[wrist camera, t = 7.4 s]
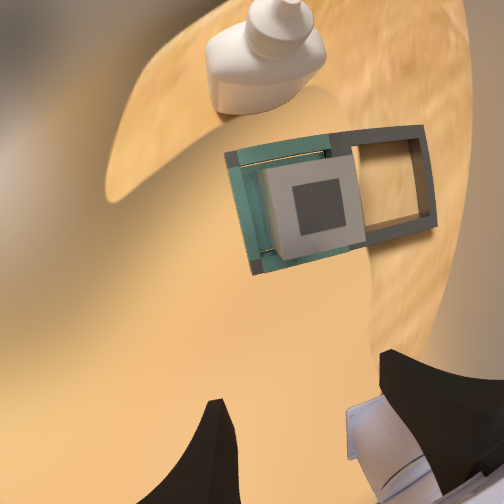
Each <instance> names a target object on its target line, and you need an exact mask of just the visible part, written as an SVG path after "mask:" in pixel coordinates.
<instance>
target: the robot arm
mask: <svg viewBox="0 0 504 504" xmlns="http://www.w3.org/2000/svg"><path fill="white" fill-rule="evenodd" d="M379 386H380V388H381V390H382V392H383V395H381V396H378V397H376V398H374V399H371V400H368V401H366V402H363V403H361V404H358V405H355V406H352V407H350V408H348V409H347V410H346V427H347V457H348V460H353V459H355V458H357V459H358V461H359V463H360V465H361V468H362V469H363V472H364V474H365V475H366V478H367V480H368V482H369V483H370V485H371V487H372V490H373V491H374V493H375V495H376V497H377V499H378V501H379V502H378V503H376V504H504V380H486V379H477V378H470V377H464V376H460V375H456V374H452V373H448V372H445V371H442V370H439V369H436V368H434V367H431V366H428V365H426V364H424V363H421V362H419V361H417V360H414V359H412V358H410V357H408V356H406V355H403V354H401V353H399V352H397V351H395V350H392V349H390V350H387V351H385V352H382V353H380V380H379ZM351 414H352V415H351ZM238 478H239V476H238V447H237V441H236V435H235V429H234V426H233V424H232V421H231V419H230V416H229V414H228V411H227V408H226V406H225V403H224V401H223V399H217V400H211V401H209V402H208V403H207V405H206V408H205V411H204V414H203V416H202V418H201V421H200V423H199V426H198V428H197V430H196V432H195V434H194V436H193V438H192V440H191V442H190V443H189V445H188V447H187V449H186V450H185V452H184V454H183V455H182V457H181V458H180V460H179V461H178V463H177V464H176V465H175V467H174V468H173V469H172V470H171V472H170V473H169V474H168V475H167V477H166V478H165V479H164V480H163V481H162V482H161V483H160V484H159V485H158V486H157V487H156V488H155V489H154V490H153V491H152V492H150V493H149V494H148V495H147V496H146V497H145V498H143V499H142V500H141V501H139V502H138V503H137V504H241V500H240V494H239V479H238Z"/></svg>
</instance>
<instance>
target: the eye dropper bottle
mask: <svg viewBox="0 0 504 504" xmlns="http://www.w3.org/2000/svg"><path fill="white" fill-rule="evenodd" d="M313 17H314V16H313V13H312V11H311V10H310V8H309V7H308V6H307V5H306V4H305V3H304V2H303V1H301V0H255V1H254V2H253V3H252V4H251V6H250V8H249V11H248V16H247V21H244V22H241V23H239V24H236V25H234V26H231V27H229V28H227V29H225V30H223V31H222V32H220V33H219V34H217V35H216V36H214V37H213V38H211V40H210V41H209V42H208V43H207V45H206V51H205V55H206V69H207V80H208V89H209V94H210V98H211V102H212V106H213V108H214V110H215V111H217V112H219V113H223V114H229V115H252V114H258V113H262V112H266V111H269V110H272V109H275V108H277V107H279V106H281V105H283V104H285V103H287V102H288V101H290V100H291V99H292V98H293V97H294V96H295V95H296V94H297V93H298V92H299V91H300V90H301V89H302V88H303V87H304V86H305V85H306V84H307V82H308V81H309V80H310V79H311V78H312V77H313V76H314V75H315V74H316V73H317V72H318V71H319V70H320V68H321V67H322V66H323V65H324V63H325V61H326V50H325V47H324V43H323V41H322V38H321V36H320V34H319V32H318V31H317V30H316V29H315V28H313V27H314V22H315V21H314V18H313Z"/></svg>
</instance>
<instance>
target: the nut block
mask: <svg viewBox="0 0 504 504" xmlns="http://www.w3.org/2000/svg"><path fill="white" fill-rule="evenodd" d="M252 175H253V180H254V184H255V189H256V194H257V199H258V204H259V208H260V213H261V218H262V223H263V228H264V233H265V238H266V239H267V241H268V242H269V243H270V244H271V245H272V247H273V248H274V249H275V250H276V252H277V253H278V254H279V255H280V257H281V258H282V259H283V260H284V261H285V260H289V259H293V258H298V257H302V256H306V255H310V254H314V253H319V252H323V251H327V250H331V249H335V248H339V247H343V246H348V245H352V244H356V243H360V242H364V241H366V237H365V229H364V221H363V213H362V206H361V199H360V192H359V186H358V180H357V174H356V169H355V163H354V157H353V155H347V156H340V157H333V158H326V159H320V160H314V161H307V162H301V163H296V164H290V165H284V166H279V167H274V168H268V169H264V170H260V171H256V172H252Z"/></svg>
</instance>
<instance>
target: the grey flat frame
mask: <svg viewBox="0 0 504 504" xmlns="http://www.w3.org/2000/svg"><path fill="white" fill-rule="evenodd" d="M399 140H408V142H409V147H410V153H411V158H412V164H413V170H414V177H415V184H416V191H417V199H418V208H419V214H415V215H411V216H407V217H403V218H398V219H394V220H390V221H386V222H382V223H378V224H374V225H370V226H366V227H365V224H364V229H365V237H366V241H364V242H360V243H356V244H352V245H348V246H343V247H339V248H335V249H331V250H327V251H323V252H319V253H314V254H310V255H306V256H302V257H298V258H293V259H289V260H285V261H284V260H283V259H282V258H281V257H280V255H279V254H278V253H277V252H276V250H275V249H273V247H272V245H271V244H270V243H269V242H268V241H267V239H266V238H265V233H264V228H263V223H262V218H261V213H260V208H259V204H258V199H257V194H256V189H255V184H254V180H253V175H252V172H256V171H260V170H264V169H268V168H274V167H279V166H284V165H290V164H296V163H301V162H307V161H314V160H320V159H324V157H325V159H326V158H333V157H340V156H347V155H353V154H352V149H351V146H358V145H365V144H373V143H381V142H390V141H399ZM318 151H323V152H320V153H314V154H308V155H303V156H298V157H292V158H286V159H282V160H276V161H271V162H266V163H261V164H257V165H252V166H247V167H243V168H240V166H245V165H249V164H254V163H259V162H264V161H269V160H274V159H279V158H284V157H289V156H295V155H300V154H306V153H311V152H318ZM323 153H324V154H323ZM224 158H225V162H226V167H227V171H228V175H229V180H230V184H231V188H232V193H233V197H234V201H235V205H236V210H237V214H238V219H239V223H240V227H241V231H242V235H243V240H244V244H245V249H246V253H247V257H248V261H249V266H250V270H251V272H252V275H257V274H261V273H268V272H272V271H276V270H279V269H284V268H288V267H292V266H296V265H299V264H303V263H307V262H311V261H315V260H318V259H323V258H327V257H330V256H334V255H338V254H342V253H345V252H349V251H351V250H354V249H358V248H362V247H366V246H369V245H373V244H377V243H380V242H384V241H388V240H391V239H395V238H399V237H402V236H406V235H409V234H413V233H416V232H420V231H424V230H427V229H431V228H434V227H438V224H437V212H436V201H435V192H434V184H433V177H432V170H431V163H430V157H429V151H428V146H427V141H426V136H425V131H424V126H423V125H409V126H395V127H383V128H373V129H363V130H354V131H346V132H338V133H330V134H322V135H315V136H309V137H303V138H297V139H291V140H285V141H279V142H274V143H269V144H263V145H259V146H254V147H249V148H244V149H239V150H235V151H231V152H226V153H224ZM359 192H360V191H359ZM360 199H361V197H360ZM361 206H362V204H361ZM362 213H363V210H362ZM363 221H364V217H363ZM269 249H272V250H269ZM265 250H268V251H265ZM261 251H264V252H261ZM259 252H260V253H259Z"/></svg>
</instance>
